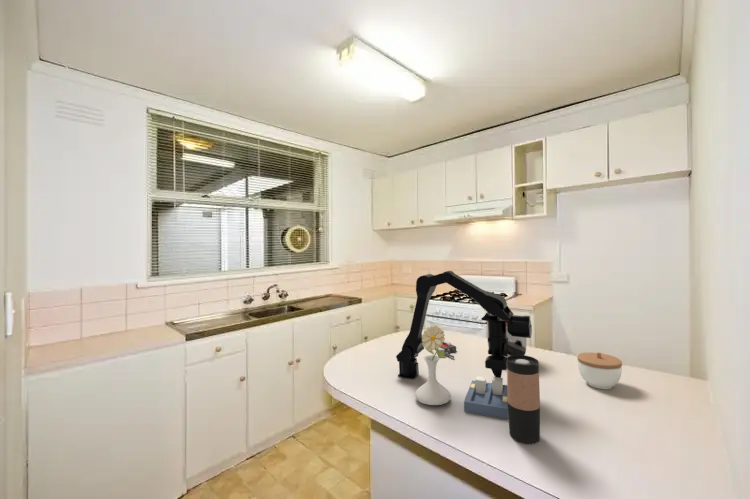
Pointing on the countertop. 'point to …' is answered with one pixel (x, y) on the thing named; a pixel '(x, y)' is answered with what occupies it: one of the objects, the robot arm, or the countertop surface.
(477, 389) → the left tab
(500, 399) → the switch panel
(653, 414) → the countertop surface
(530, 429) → the travel mug
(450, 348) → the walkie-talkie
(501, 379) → the right tab
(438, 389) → the flower in vase
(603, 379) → the lidded bowl
